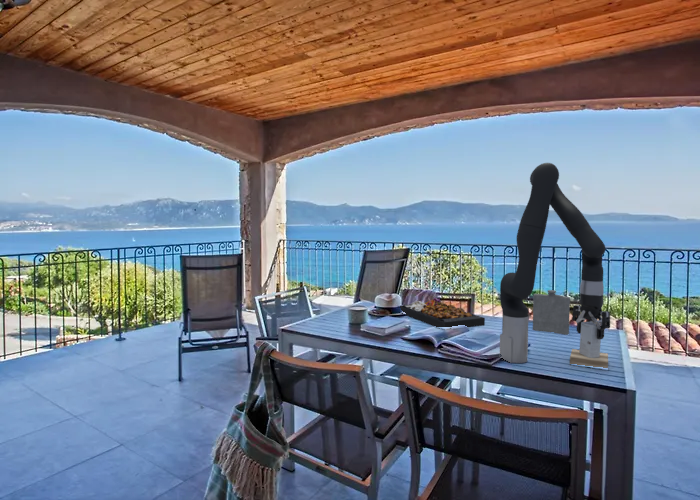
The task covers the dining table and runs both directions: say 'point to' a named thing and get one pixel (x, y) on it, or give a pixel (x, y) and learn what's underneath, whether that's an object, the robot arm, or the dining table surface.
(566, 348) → the dining table surface
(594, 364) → the oak stand
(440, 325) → the food platter
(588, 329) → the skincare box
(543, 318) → the hip flask
